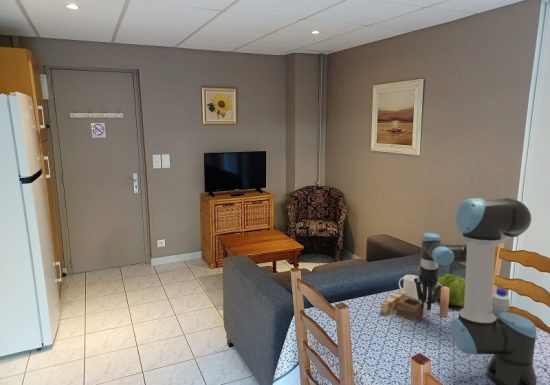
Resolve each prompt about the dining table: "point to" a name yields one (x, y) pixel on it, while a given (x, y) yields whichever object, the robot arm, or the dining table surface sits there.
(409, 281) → the mug
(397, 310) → the block
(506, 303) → the bottle
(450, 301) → the lettuce
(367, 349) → the dining table surface
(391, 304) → the backstop
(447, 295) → the dowel
